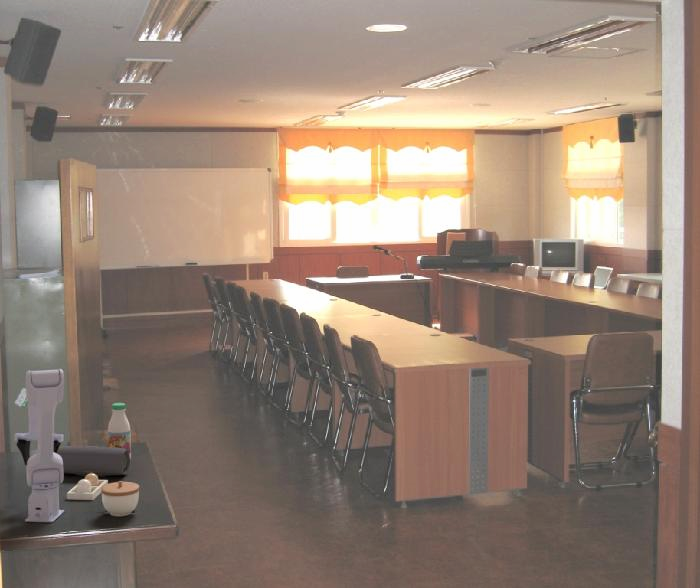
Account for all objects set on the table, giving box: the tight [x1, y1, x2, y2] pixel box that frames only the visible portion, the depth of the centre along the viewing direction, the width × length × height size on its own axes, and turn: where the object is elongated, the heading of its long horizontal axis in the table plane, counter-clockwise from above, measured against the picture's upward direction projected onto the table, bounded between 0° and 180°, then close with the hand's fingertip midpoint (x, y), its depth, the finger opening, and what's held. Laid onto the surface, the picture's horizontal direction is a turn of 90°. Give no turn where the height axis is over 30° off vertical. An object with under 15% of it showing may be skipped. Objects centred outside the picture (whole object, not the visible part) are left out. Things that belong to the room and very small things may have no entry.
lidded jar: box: [101, 480, 140, 517], centre depth 281 cm, size 11×11×9 cm
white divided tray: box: [66, 479, 109, 501], centre depth 299 cm, size 14×8×2 cm, turn 176°
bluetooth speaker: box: [57, 445, 131, 477], centre depth 317 cm, size 23×9×10 cm, turn 84°
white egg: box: [76, 478, 92, 493], centre depth 295 cm, size 4×4×5 cm
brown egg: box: [84, 473, 99, 486], centre depth 302 cm, size 4×4×5 cm
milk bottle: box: [107, 402, 132, 460], centre depth 335 cm, size 8×8×20 cm
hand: (39, 464), depth 294 cm, fingers open, 7 cm apart
